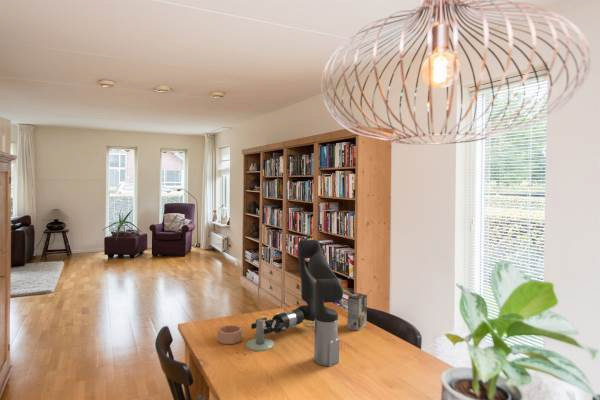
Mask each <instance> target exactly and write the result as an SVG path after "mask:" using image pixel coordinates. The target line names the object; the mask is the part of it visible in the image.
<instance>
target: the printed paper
mask: <svg viewBox="0 0 600 400" xmlns="http://www.w3.org/2000/svg"><path fill="white" fill-rule="evenodd" d="M280 313H281V312H277V313H276V314H280ZM304 324H305V325H304V326H308V324H312V327H311V328H310V329H311V330H315V321H307V320H304ZM295 326H296V325H295ZM295 326H292V327H290V328H291V329H292V328H293V329H294V328H296V327H295ZM302 329H306V330H307V329H308V328H306V327H303V328H302Z"/></svg>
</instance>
